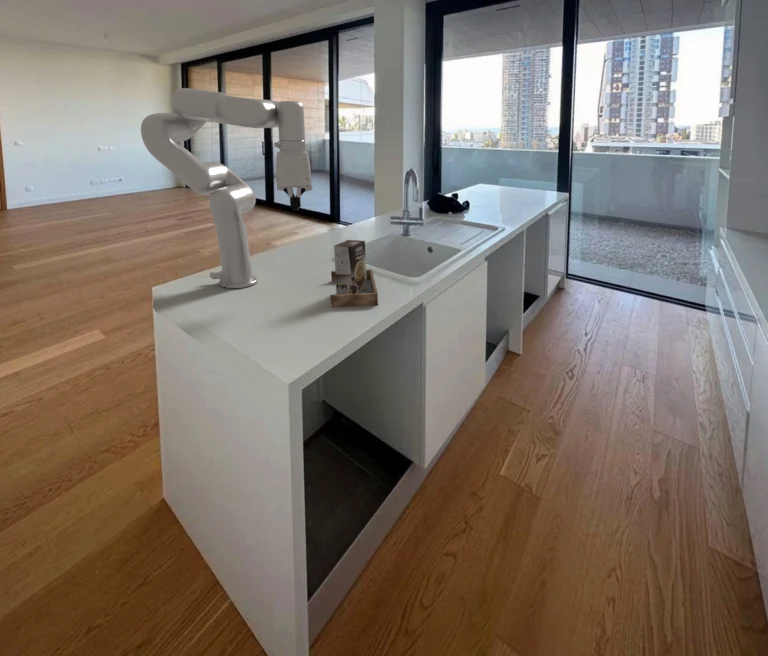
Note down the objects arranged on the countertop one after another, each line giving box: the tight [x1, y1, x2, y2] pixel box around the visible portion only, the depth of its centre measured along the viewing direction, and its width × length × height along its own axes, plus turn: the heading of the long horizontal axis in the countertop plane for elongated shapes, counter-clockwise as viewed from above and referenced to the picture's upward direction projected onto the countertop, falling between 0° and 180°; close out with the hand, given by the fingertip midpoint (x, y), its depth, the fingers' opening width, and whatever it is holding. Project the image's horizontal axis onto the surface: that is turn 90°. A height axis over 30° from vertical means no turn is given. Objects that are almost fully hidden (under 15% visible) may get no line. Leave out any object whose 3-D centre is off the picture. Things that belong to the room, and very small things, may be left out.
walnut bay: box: [329, 269, 379, 308], centre depth 157 cm, size 14×26×4 cm, turn 5°
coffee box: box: [333, 239, 367, 295], centre depth 154 cm, size 9×6×16 cm
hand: (295, 209), depth 154 cm, fingers closed
